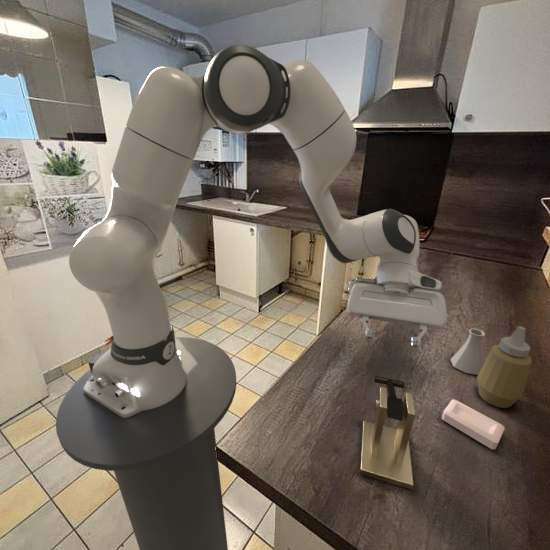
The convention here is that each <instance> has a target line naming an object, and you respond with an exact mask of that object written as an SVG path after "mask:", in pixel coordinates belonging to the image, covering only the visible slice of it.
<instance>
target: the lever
mask: <svg viewBox="0 0 550 550" xmlns="http://www.w3.org/2000/svg"><path fill="white" fill-rule="evenodd" d="M373 381H374V383H377V384H381V385H385V386H386V390H387V411H386V416H387V418H388V419H391V420H395V421H398V422H399V421H402V419H403V412H404V405H403V402H404V400H403V398H398V397H397V394H396V389H395V388H400V389H405V386H406V385H405V381H401V380H397V379H392V378H387V377H382V376H377V375H375V376H374V379H373Z"/></svg>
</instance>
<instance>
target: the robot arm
mask: <svg viewBox="0 0 550 550" xmlns="http://www.w3.org/2000/svg"><path fill="white" fill-rule="evenodd" d="M267 125H271V126H273V127H274V128H276V130H278V131H279V132H280V133H281V135H283V136H284V138H285V140H286V141H287V143H288V144H289V146H290V147H291V149H292V151H293V152H294V154H295V156H296V158H297V161H298V162H299V166H300V171H299V174H298V182H299V187H300V190H301V192H302V193H303V196H304V198H305V201H306V203H307V204H308V207H309V209H310V210H311V212H312V215H313V216H314V218H315V220H316V222H317V224H318V226H319V229H320V230H321V232H322V234H323V236H324V238H325V243H326V246H327V249H328V251H329V253H330V255H331V256H332V257H333V258H334V259H335V260H336V261H338V262H339V263H342V264H349V263H354V262H356V261H360V260H364V259H365V260H366V259H370V258H376V257H378V258H379V263H378V265H377V269H376V271H377V272H376V277H375V278H363V277H356V278H353V279H351V280H350V281H349V282H348V287H347V291H348V293H349V295H348V300H347V304H346V312H347V314H348V315H349V316H350V317H353V318H354V317H355V318H361V324H362V327H363V329H364V338H365V339H369V340H372V339H373V333H374V332H373V331H374V329H371V328H369V325H368V323H369V320H375V321H380V322H387V323H393V324H399V325H405V326H413V327H417V332H419V333H418V335H417V336H412V337H411V338H410V339H411V341H410V342H411V343H410V346H411V347H415V348H421V341H422V338H423V337H424V335H425V334H426V333H427V332H428V329H431V330H437V331H439V330H441V329H442V328H444V327H445V326H446V325H447V322H448V313H447V312H448V311H447V303H446V298H445V297H444V295H443V294H442V293H441V290H442V287H443V284H442V281H441V280H439V279H436V278H434V277H431V276H429V275H427V274H424V273H422V272H419V266H418V259H419V258H420V251H421V250H420V249H421V248H420V247H421V246H420V245H421V244H420V230H419V225H418V223H417V221H416V219H414V218H413V217H412V216H410V215H407V214H403V213H401V212H400V211H398V210H396V209H393V208H388V209H387V208H386V209H381V210H378V211H375V212H372V213H368V214H366V215H363V216H359V217H355V218H353V219H347V218H344V217H342V216H341V212H340V211H339V209H338V206H337V204H336V202H335V200H334V197H333V195H332V192H331V185H332V184H333V183H334V182H335V181H336V180H337V179H338V178H339V177H340V176H341V174H343V172H344V171H345V170H346V168H347V167H348V165H349V164H350V162H351V161H352V159H353V157H354V155H355V152H356V148H357V141H358V140H357V137H358V136H357V133H356V129H355V127H354V126H355V125H354V124H353V121H352V120H351V117H350V116H349V113H348V112H347V111H346V109H345V107H344V105H343V103H342V102H341V100H340V98H339V97H338V94H336V92H335V90H334V89H333V88H332V86H331V84H330V83H329V82H328V80H327V79H326V77H324V76H323V74H322V73H321V71H319V69H317V67H316V66H315V65H314V64H313V63H312V62H311V61H309V60H306V59H297V60H294V61H292V62H289V63H287V64H286V65H283V64H282V63H280V62H278V61H277V60H274V59H272V58H271V57H269V56H268V55H266V54H265V53H264V52H261V50H259V49H257V48H256V47H253V46H250V45H246V44H240V43H239V44H232V45H229V46H226V47H224V48H222V49H221V50H219V51H218V52H217V53H216V54H215V55H214V56H213V57H212V58H211V60H210V62H209V64H208V66H207V68H206V70H205V74H204V75H200V76H193V75H189V74H188V73H187V72H186V71H183V70H181V69H178V68H176V67H172V66H159V67H156V68H154V69H153V70H152V71H151V72H150V73H149V75H148V76H147V78H146V79H145V82H144V83H143V85H142V87H141V88H140V91H139V93H138V94H137V97H136V99H135V101H134V103H133V105H132V108H131V109H130V112H129V115H128V119H127V122H126V125H125V127H124V130H123V134H122V137H121V140H120V143H119V147H118V149H117V153H116V156H115V160H114V162H113V166H112V169H111V171H110V172H111V174H110V175H111V182H112V186H111V198H110V203H109V208H108V211H107V213H106V215H105V217H104V218H103V219H102V220H101V221H100V222H97V223H96V224H95V225H93V226H91V227H89V228H88V229H86V230H85V231H83V233H82V234H81V235H80V237H78V239H77V241H76V242H75V244H74V245H73V246H72V249H71V251H70V253H69V257H68V265H69V269H70V272H71V274H72V276H73V277H74V279H75V280H76V281H77V282H78V283H79V284H80V285H81V286H83V287H84V288H85V289H87V290H89V291H92V292H94V293H95V294H96V296H97V297H98V299H99V300H100V302H101V303H102V305H103V307H104V310H105V312H106V315H107V319H108V322H109V326H110V330H111V334H112V335H111V336H110V337H108V338H107V339H105V340H104V343H105V346H108V345H110V344H111V347H110V348H109V349H108V350H103V351H101V352H100V353H99V354H97V355H96V356H94V358H92V359H91V360H89V362H87V363H88V367H89V370H91V373H93V375H92V376H91V378H90V379H89V380H88V381H87V382H86V384H85V386H84V388H83V390H84V393H85V394H87V395H88V396H90V397H91V398H93V399H94V400H96V401H97V402H99V403H100V404H102V405H104V406H105V407H107V408H108V409H110V410H111V411H113V412H114V413H116V414H117V415H119V416H121V417H122V418H127V417H130V416H132V415H135V414H137V413H139V412H141V411H144V410H149V409H153V408H157V407H159V406H162V405H164V404H166V403H168V402H170V401H171V400H173V399H174V398H175V397H176V396H177V395H178V394H179V393H180V392H181V391H182V390H183V388H184V387H185V384H186V381H187V376H186V373H185V371H184V369H183V367H182V361H181V358H180V357H179V355H180V351H177V349H176V344H175V343H176V341H175V337H176V335H175V330H174V326H173V325H172V323H171V318H170V313H169V306H168V299H167V296H166V293H165V292H164V291H162V289H161V287H160V284H159V281H158V279H157V277H156V273H155V259H156V258H157V256H158V254H159V253H160V251H161V249H162V248H163V244H164V242H165V239H166V237H167V234H168V231H169V228H170V225H171V221H172V220H173V216H174V214H175V210H176V206H177V204H178V201H179V198H180V195H181V193H182V190H183V188H184V185H185V182H186V180H187V178H188V175H189V173H190V170H191V167H192V165H193V162H194V159H195V157H196V155H197V152H198V149H199V147H200V144H201V142H202V140H203V139H204V136H205V135H206V134H207V133H208V132H209V131H210V130H211V129H214V130H217V131H222V132H227V133H231V134H235V135H243V134H248V133H251V132H254V131H256V130H259V129H261V128H262V127H264V126H267Z"/></svg>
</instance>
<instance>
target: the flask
mask: <svg viewBox="0 0 550 550" xmlns="http://www.w3.org/2000/svg"><path fill="white" fill-rule="evenodd" d="M468 333H469V335H468V337H467V339H466V341H465V342H464V343H463V345H462V346H461V347H460V349H458V350H457V351H456V353H454V354H453V355H452V357H450V359H449V360H450V362H451V364H452V367H453V368H455V369H457V370H459V371H461V372H463V373H465V374H469V375H476V376H478V374H479V372H480V370H481V368H482V366H483V364H484V361H483V353H482V340H483V338H484V337H485V336H486V333H485V332H484V330H481V329H478V328H474V327H471V328H470V329H469V330H468Z"/></svg>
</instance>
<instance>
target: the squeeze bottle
mask: <svg viewBox="0 0 550 550" xmlns="http://www.w3.org/2000/svg"><path fill="white" fill-rule="evenodd" d="M530 351H531V346H530V345H529V344H528V343H527V342H526V328H525V327H524V326H520V325H519V326H517V328H515V330H514V331H513V332H512V334H510V336H504V337H502V338H501V339H500V342H499V344H494V345H493V346H492V347H491V349H490V351H489V353H488V355H487V357H486V359H485V360H484V362H483V366H482V368H481V370H480V372H479V374H478V375H476V376H477V377H476V381H477V382H476V383H477V390H478V394H479V396H480V397H481V399H482V400H484V401H485V402H486V403H488V404H489V405H491V406H494V407H496V408H500V409H507V408H510V407H512V405H514V404H515V403H517V402H518V401H519V400H520V399H522V398H523V396H524V392H525V388H526V384H527V380H528V378H529V377H528V376H529V373H530V369H531V366H532V361H533V359H532V358H531V356H530V355H529V353H530Z"/></svg>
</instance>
